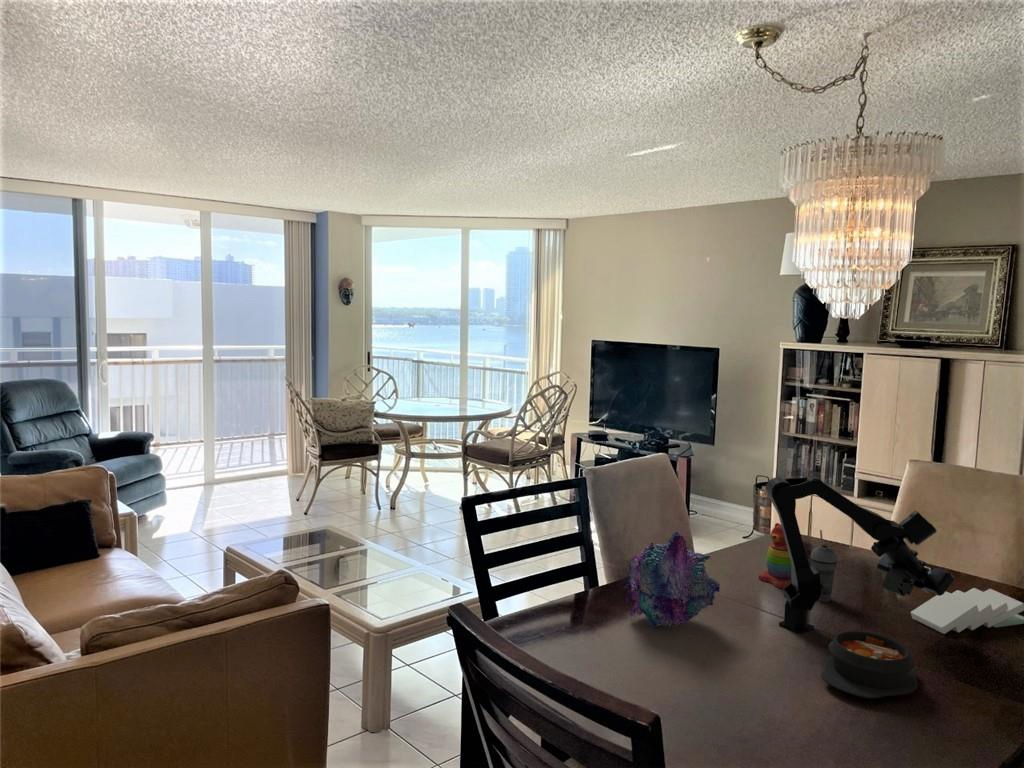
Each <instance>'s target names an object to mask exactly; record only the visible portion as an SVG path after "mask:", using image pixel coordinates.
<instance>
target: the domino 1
mask: <svg viewBox="0 0 1024 768" xmlns="http://www.w3.org/2000/svg"><path fill="white" fill-rule="evenodd" d="M978 611H979V610H978V607H977V605H976V604H974V603H972V602H969V601H967V600H965V599H962V598H960V597H958V596H955V595H953V594H952V593H951V592H948V591H947V590H946V591H945V593H944V594H943V595H941V596H938V595H936V594H935V596H933V597H932V598H930V599H928V600H927V601H925V602H924V603H922V604H921V605H919V606H918V607H915V609H913V610H912V611H910V616H911V618H912V619H913V620H914V621H916V622H919V623H921V624H923V625H925V626H927V627H929V628H931V629H933V630H935V631H937V632H939V633H941V634H944V635H945V634H947V633H948V632H950V631H952V630H951V629H953V628H954V627H956V626H957V625H959V624H960V623H962V622H963V621H965V620H966V619H968V618H969V617H971V616H972V615H974V614H975V613H977V612H978Z"/></svg>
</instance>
